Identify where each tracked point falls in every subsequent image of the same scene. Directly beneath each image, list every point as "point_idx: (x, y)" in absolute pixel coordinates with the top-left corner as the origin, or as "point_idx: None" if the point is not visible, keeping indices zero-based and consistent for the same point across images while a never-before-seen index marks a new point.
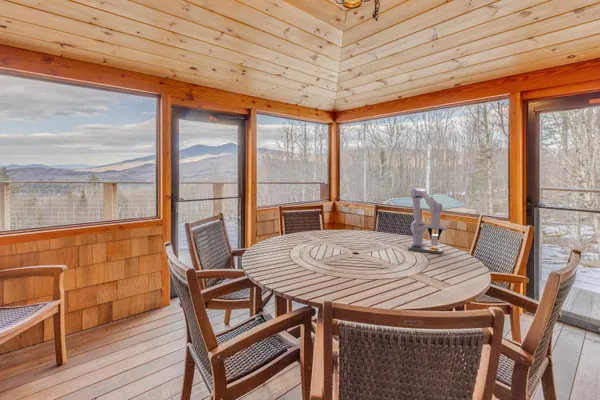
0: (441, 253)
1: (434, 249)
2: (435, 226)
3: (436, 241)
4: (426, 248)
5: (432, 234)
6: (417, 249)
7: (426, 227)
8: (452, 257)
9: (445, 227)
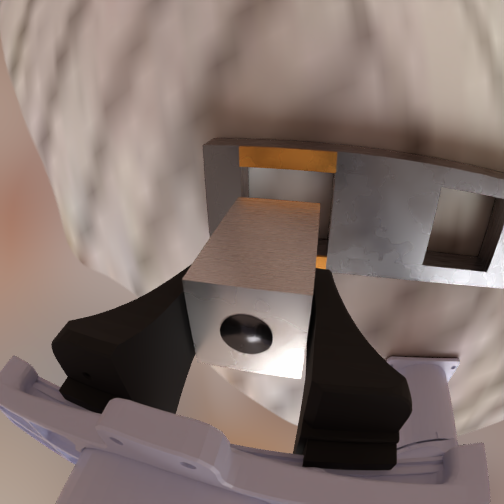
0: (211, 140)
1: None
2: (131, 487)
3: (237, 223)
4: (372, 211)
5: (294, 348)
6: (461, 168)
7: (426, 481)
8: (121, 90)
9: (11, 414)
